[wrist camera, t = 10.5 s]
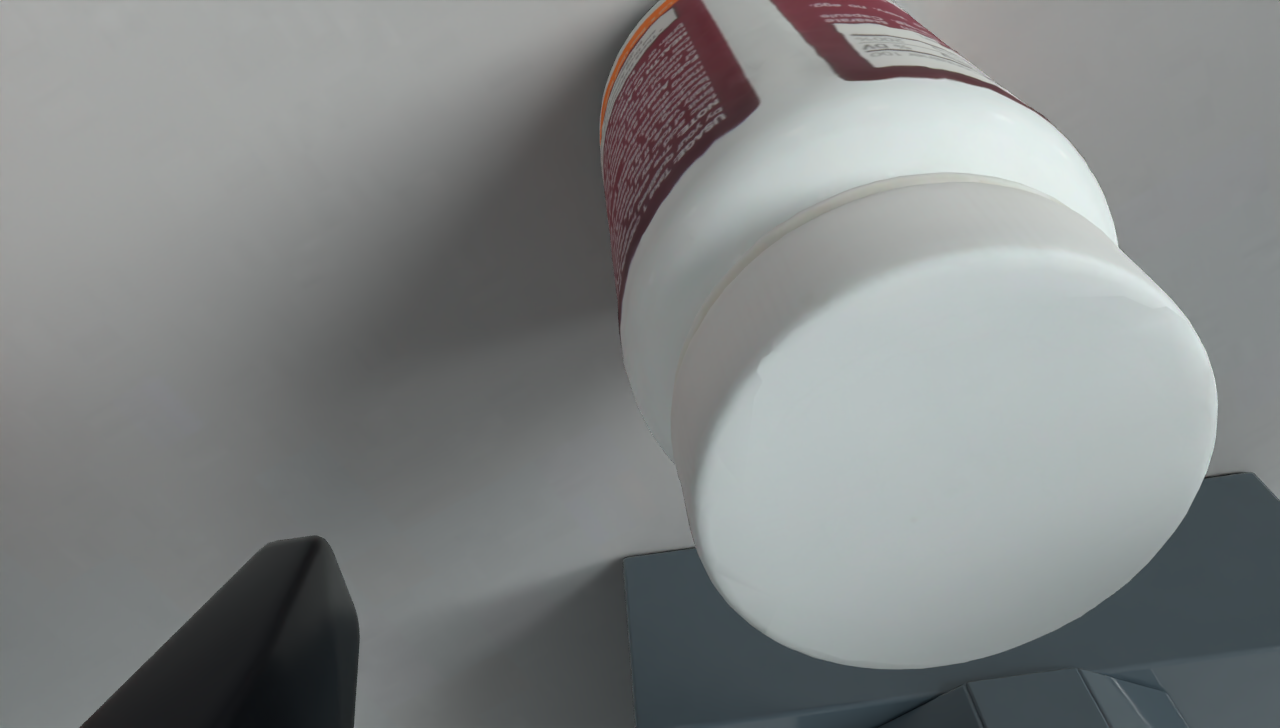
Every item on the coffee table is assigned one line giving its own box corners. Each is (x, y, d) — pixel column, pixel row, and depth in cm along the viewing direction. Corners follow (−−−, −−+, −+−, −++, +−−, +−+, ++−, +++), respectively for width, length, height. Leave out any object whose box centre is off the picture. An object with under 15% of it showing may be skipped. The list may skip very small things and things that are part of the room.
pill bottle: (671, 313, 16) (759, 769, 9) (541, 37, 14) (523, 367, 7) (957, 198, 15) (1297, 597, 8) (874, -115, 13) (1257, 73, 6)
